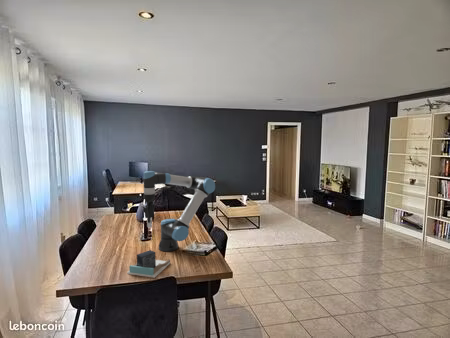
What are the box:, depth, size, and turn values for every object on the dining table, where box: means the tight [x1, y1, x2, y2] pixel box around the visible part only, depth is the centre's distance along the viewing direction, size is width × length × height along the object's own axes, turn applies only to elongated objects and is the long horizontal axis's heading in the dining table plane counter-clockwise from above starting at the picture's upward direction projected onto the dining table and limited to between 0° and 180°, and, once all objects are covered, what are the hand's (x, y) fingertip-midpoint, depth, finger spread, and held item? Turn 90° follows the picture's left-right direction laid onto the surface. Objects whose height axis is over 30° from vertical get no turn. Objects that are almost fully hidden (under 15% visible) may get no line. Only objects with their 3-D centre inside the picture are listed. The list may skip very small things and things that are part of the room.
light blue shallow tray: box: [126, 259, 171, 279], centre depth 185 cm, size 22×19×5 cm
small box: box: [136, 249, 157, 268], centre depth 182 cm, size 11×6×10 cm, turn 141°
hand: (149, 226), depth 196 cm, fingers closed
